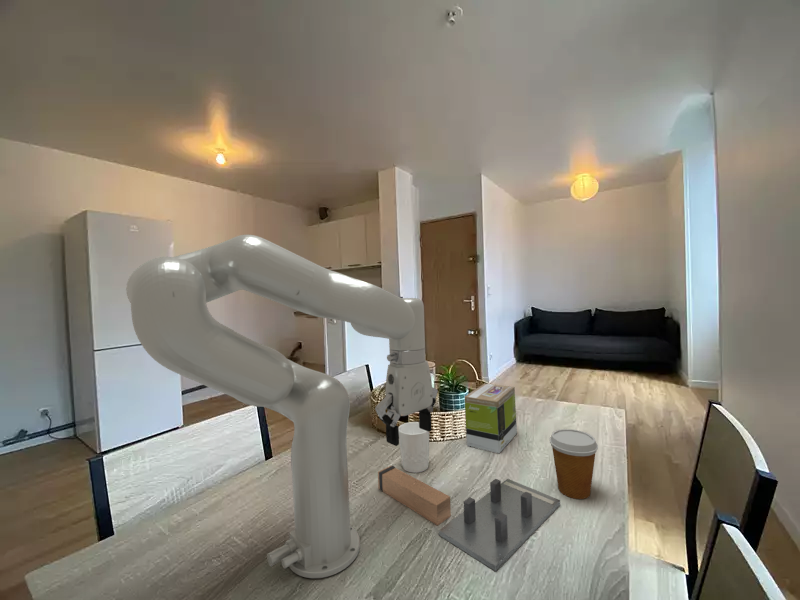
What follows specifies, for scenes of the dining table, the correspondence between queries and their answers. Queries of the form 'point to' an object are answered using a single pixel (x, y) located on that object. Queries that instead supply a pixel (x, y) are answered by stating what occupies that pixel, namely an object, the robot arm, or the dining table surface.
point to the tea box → (490, 417)
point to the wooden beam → (415, 494)
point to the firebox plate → (499, 521)
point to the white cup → (414, 447)
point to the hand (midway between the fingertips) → (409, 436)
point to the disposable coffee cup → (574, 461)
